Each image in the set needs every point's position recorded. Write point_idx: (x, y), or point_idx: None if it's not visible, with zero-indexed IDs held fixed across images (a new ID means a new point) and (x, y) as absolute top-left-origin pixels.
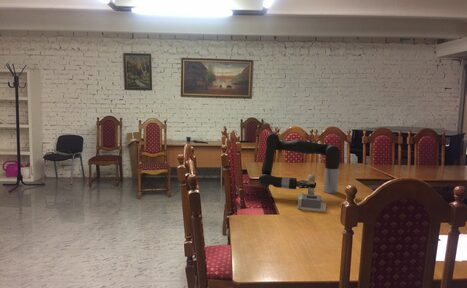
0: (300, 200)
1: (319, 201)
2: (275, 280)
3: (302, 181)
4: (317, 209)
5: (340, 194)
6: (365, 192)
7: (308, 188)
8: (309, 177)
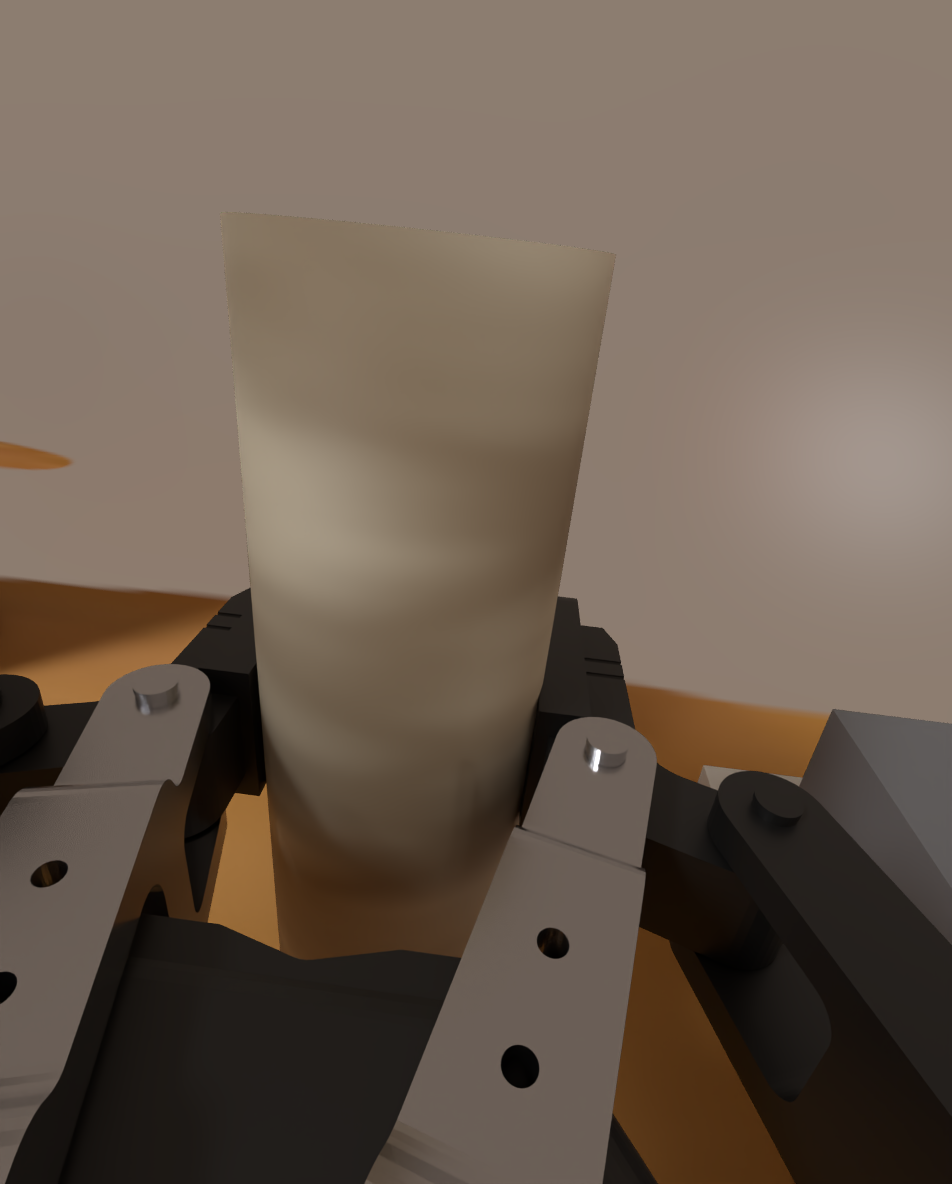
0: None
1: None
2: None
3: (57, 1105)
4: None
5: (67, 586)
6: (67, 463)
7: (447, 922)
8: (551, 396)
